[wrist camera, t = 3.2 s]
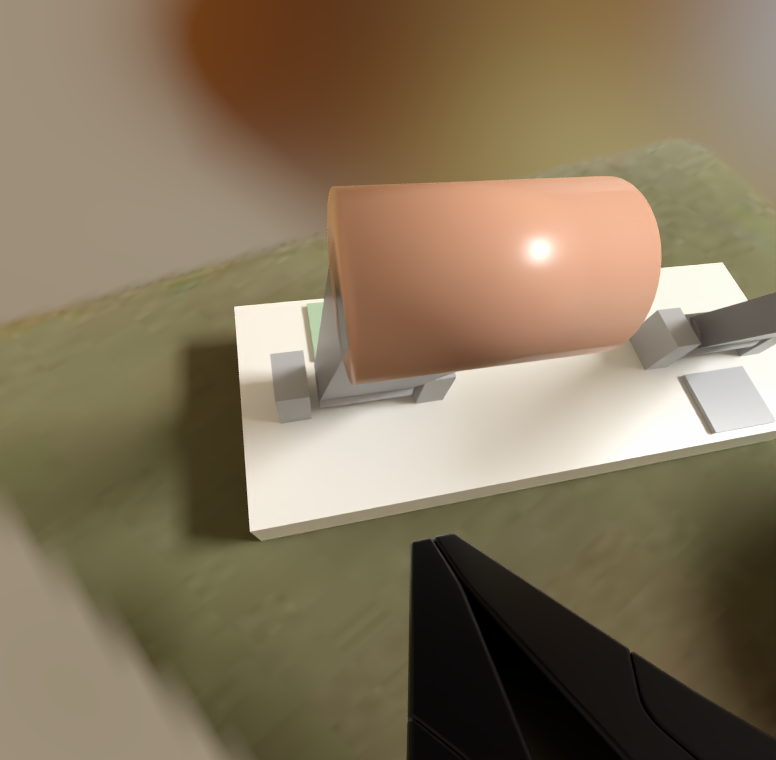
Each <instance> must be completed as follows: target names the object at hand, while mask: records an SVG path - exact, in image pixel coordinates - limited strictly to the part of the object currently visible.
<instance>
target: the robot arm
mask: <svg viewBox="0 0 776 760" xmlns="http://www.w3.org/2000/svg"><path fill="white" fill-rule="evenodd" d="M407 760H776V738H774V737H772V736H770V735H769V734H767V733H765V732H763V731H762V730H760V729H758V728H756V727H755V726H753V725H751V724H749V723H748V722H746V721H744V720H743V719H741V718H739V717H737V716H736V715H734V714H732V713H731V712H729V711H727V710H726V709H724V708H722V707H720V706H719V705H717V704H715V703H714V702H712V701H710V700H708V699H707V698H705V697H703V696H702V695H700V694H699V693H697V692H695V691H694V690H692V689H691V688H689V687H687V686H686V685H684V684H683V683H681V682H680V681H678V680H676V679H675V678H673V677H672V676H670V675H669V674H667V673H665V672H664V671H662V670H661V669H659V668H658V667H656V666H655V665H653V664H652V663H650V662H648V661H647V660H645V659H644V658H642V657H641V656H639V655H638V654H636V653H635V652H631V653H630V651H629V649H628V648H627V647H625V646H624V645H622V644H621V643H619V642H618V641H616V640H615V639H613V638H612V637H610V636H609V635H607V634H606V633H604V632H603V631H601V630H600V629H598V628H597V627H595V626H594V625H592V624H591V623H589V622H588V621H586V620H585V619H583V618H582V617H580V616H579V615H577V614H576V613H574V612H573V611H571V610H569V609H568V608H566V607H565V606H563V605H562V604H560V603H559V602H557V601H556V600H554V599H553V598H551V597H550V596H548V595H547V594H545V593H544V592H542V591H541V590H539V589H538V588H536V587H535V586H533V585H532V584H530V583H529V582H527V581H526V580H524V579H523V578H521V577H520V576H518V575H517V574H515V573H514V572H512V571H510V570H509V569H507V568H506V567H504V566H503V565H501V564H500V563H498V562H497V561H495V560H494V559H492V558H491V557H489V556H488V555H486V554H485V553H483V552H482V551H480V550H479V549H477V548H476V547H474V546H473V545H471V544H470V543H468V542H467V541H465V540H464V539H462V538H461V537H459V536H458V535H456V534H453V533H449V534H444V535H440V536H436V537H434V538H433V539H430V538H426V539H421V540H417V541H413V542H412V543H411V545H410V597H409V663H408V723H407Z"/></svg>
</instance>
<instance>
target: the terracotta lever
mask: <svg viewBox="0 0 776 760" xmlns="http://www.w3.org/2000/svg"><path fill="white" fill-rule="evenodd" d="M327 231H328V254H329V269H328V276H327V283H326V290H325V297H324V303H323V310H322V317H321V324H320V331H319V337H318V344H317V351H316V358H314V370H315V379H316V387H317V394H318V400H319V405H320V408H324V407H331V406H338V405H345V404H352V403H359V402H366V401H374V400H381V399H388V398H395V397H402V396H409V395H412V393H413V389H414V388H415V387H417V386H420V385H423V384H425V383H428V382H431V381H433V380H436V379H439V378H442V377H444V376H447V375H450V374H452V373H455V372H458V371H465V370H473V369H480V368H488V367H495V366H503V365H510V364H518V363H526V362H533V361H541V360H548V359H556V358H563V357H571V356H578V355H586V354H593V353H601V352H607V351H610V350H613V349H615V348H617V347H619V346H621V345H623V344H624V343H625V342H626V341H628V340H629V339H630V338H631V337H632V336H633V335H634V334H635V333H636V332H637V331H638V329H639V328H640V326H641V325H642V324H643V322H644V321H645V319H646V317H647V315H648V313H649V311H650V309H651V306H652V304H653V301H654V299H655V295H656V292H657V288H658V284H659V278H660V272H661V243H660V236H659V230H658V227H657V223H656V219H655V217H654V214H653V212H652V209H651V207H650V206H649V204H648V202H647V201H646V199H645V197H644V196H643V195H642V194H641V193H640V191H639V190H638V189H637V188H635V187H634V186H633V185H632V184H631V183H629V182H627V181H625V180H623V179H620V178H617V177H611V176H597V177H571V178H545V179H519V180H493V181H469V182H442V183H415V184H389V185H364V186H338V187H331V190H330V192H329V198H328V215H327Z"/></svg>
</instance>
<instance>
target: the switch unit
mask: <svg viewBox="0 0 776 760" xmlns="http://www.w3.org/2000/svg"><path fill="white" fill-rule="evenodd" d="M745 301H748V300H747V298H746V297H745V295H744V294H743V293H742V291H741V290H740V288H739V287H738V285H737V284H736V282H735V281H734V279H733V278H732V276H731V275H730V273H729V272H728V270H727V269H726V267H725V266H724V264H723V263H712V264H701V265H690V266H679V267H668V268H661V272H660V278H659V284H658V288H657V292H656V295H655V299H654V301H653V304H652V306H651V309H650V311H649V313H648V315H647V317H646V319H645V321H644V322H643V324H642V325H641V326H640V328H639V329H638V331H637V332H636V333H635V334H634V335H633V336H632V337H631V338H630V339H629V340H628V341H626V342H625V343H624V344H623V345H621V346H619V347H617V348H615V349H613V350H610V351H607V352H601V353H593V354H586V355H578V356H571V357H563V358H556V359H548V360H541V361H533V362H526V363H518V364H510V365H503V366H495V367H488V368H480V369H473V370H465V371H458V372H455V373H452V374H450V375H447V376H444V377H442V378H439V379H436V380H433V381H431V382H428V383H425V384H423V385H420V386H417V387H415V388H414V389H413V393H412V395H409V396H402V397H395V398H388V399H381V400H374V401H366V402H359V403H352V404H345V405H338V406H331V407H324V408H320V405H319V400H318V394H317V387H316V379H315V370H314V358H316V351H317V344H318V337H319V331H320V324H321V317H322V310H323V303H324V299H314V300H303V301H292V302H281V303H270V304H259V305H248V306H237V307H235V322H236V337H237V351H238V366H239V380H240V395H241V409H242V424H243V438H244V453H245V467H246V482H247V496H248V511H249V526H250V532H251V533H252V534H253V535H255V536H256V537H257V538H258V539H260V540H261V541H264V540H269V539H274V538H279V537H284V536H289V535H294V534H299V533H305V532H310V531H315V530H320V529H325V528H330V527H335V526H340V525H345V524H350V523H355V522H360V521H365V520H370V519H375V518H380V517H385V516H390V515H395V514H401V513H406V512H411V511H416V510H421V509H426V508H431V507H436V506H441V505H446V504H451V503H456V502H461V501H466V500H471V499H476V498H481V497H486V496H492V495H497V494H502V493H507V492H512V491H517V490H522V489H527V488H532V487H537V486H542V485H547V484H552V483H557V482H562V481H567V480H572V479H577V478H583V477H588V476H593V475H598V474H603V473H608V472H613V471H618V470H623V469H628V468H633V467H638V466H643V465H648V464H653V463H658V462H663V461H668V460H674V459H679V458H684V457H689V456H694V455H699V454H704V453H709V452H714V451H719V450H724V449H729V448H734V447H739V446H744V445H749V444H754V443H759V442H764V441H770V440H773V439H776V337H773V338H768V339H762V340H760V341H759V342H758V343H757V344H756V345H754V346H751V347H747V348H740V349H733V350H726V351H719V352H712V353H705V354H698V355H691V356H684V355H686V354H687V353H689V352H690V351H692V350H693V349H695V348H696V347H698V346H699V345H701V342H700V340H699V339H698V337H697V335H696V334H695V332H694V330H693V329H692V327H691V325H690V323H689V322H688V320H687V318H686V317H685V314H694V313H702V312H710V311H714V310H717V309H721V308H724V307H728V306H731V305H735V304H738V303H741V302H745Z"/></svg>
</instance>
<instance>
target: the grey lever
mask: <svg viewBox="0 0 776 760" xmlns="http://www.w3.org/2000/svg"><path fill="white" fill-rule="evenodd" d="M685 317H686V318H687V320H688V322H689V323H690V325H691V327H692V329H693V330H694V332H695V334H696V335H697V337H698V339H699V340H700V342H701V345H699V346H698V347H696V348H695V349H693V350H692V351H690V352H689V353H687V354H686V355H684V356H691V355H698V354H705V353H712V352H719V351H726V350H733V349H740V348H747V347H751V346H754V345H756V344H757V343H758V342H759V341H760V340H762V339H768V338H773V337H776V293H773V294H769V295H766V296H762V297H759V298H755V299H752V300H748V301H745V302H741V303H738V304H735V305H731V306H728V307H724V308H721V309H717V310H714V311H710V312H702V313H694V314H685Z"/></svg>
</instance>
